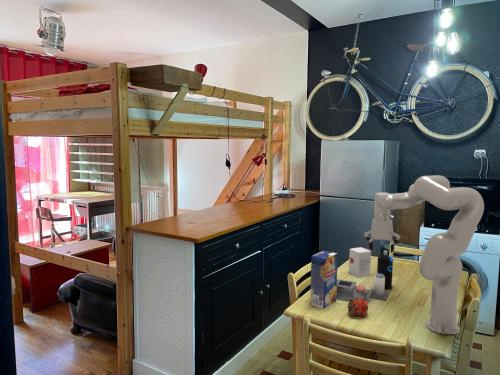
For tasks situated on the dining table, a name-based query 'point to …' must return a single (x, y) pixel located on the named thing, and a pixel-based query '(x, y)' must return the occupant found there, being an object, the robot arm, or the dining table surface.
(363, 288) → the plunger
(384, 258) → the aerosol can
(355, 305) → the dragon fruit
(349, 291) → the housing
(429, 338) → the dining table surface
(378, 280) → the cylinder
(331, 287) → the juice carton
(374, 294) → the mat
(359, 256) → the supplement box
